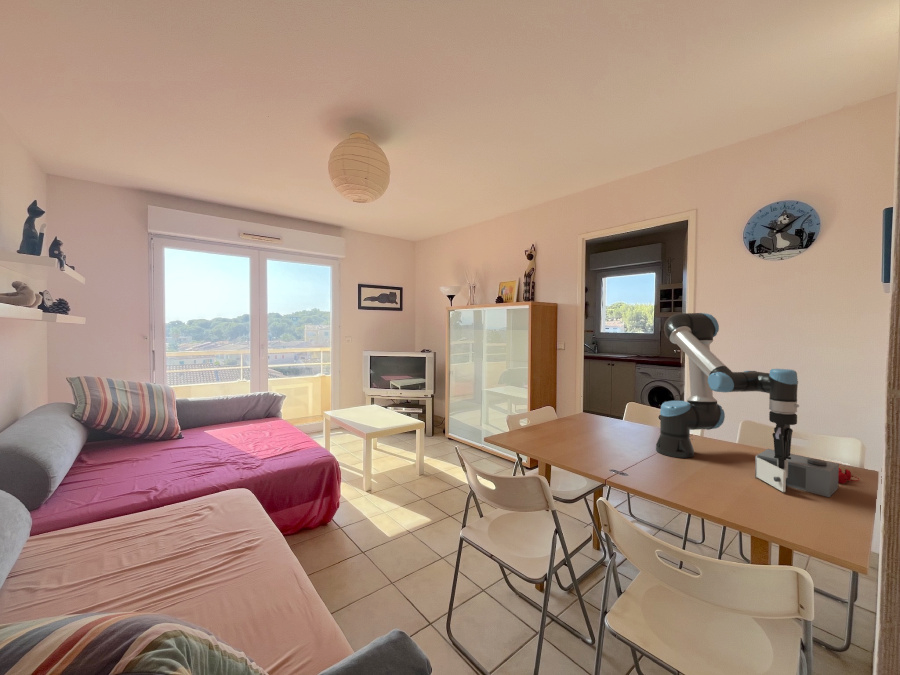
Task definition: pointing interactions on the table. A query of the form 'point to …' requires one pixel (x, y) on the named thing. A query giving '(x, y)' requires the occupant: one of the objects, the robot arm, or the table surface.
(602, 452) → the table surface
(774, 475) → the door
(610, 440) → the table surface
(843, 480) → the alarm clock
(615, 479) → the table surface
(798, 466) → the case
